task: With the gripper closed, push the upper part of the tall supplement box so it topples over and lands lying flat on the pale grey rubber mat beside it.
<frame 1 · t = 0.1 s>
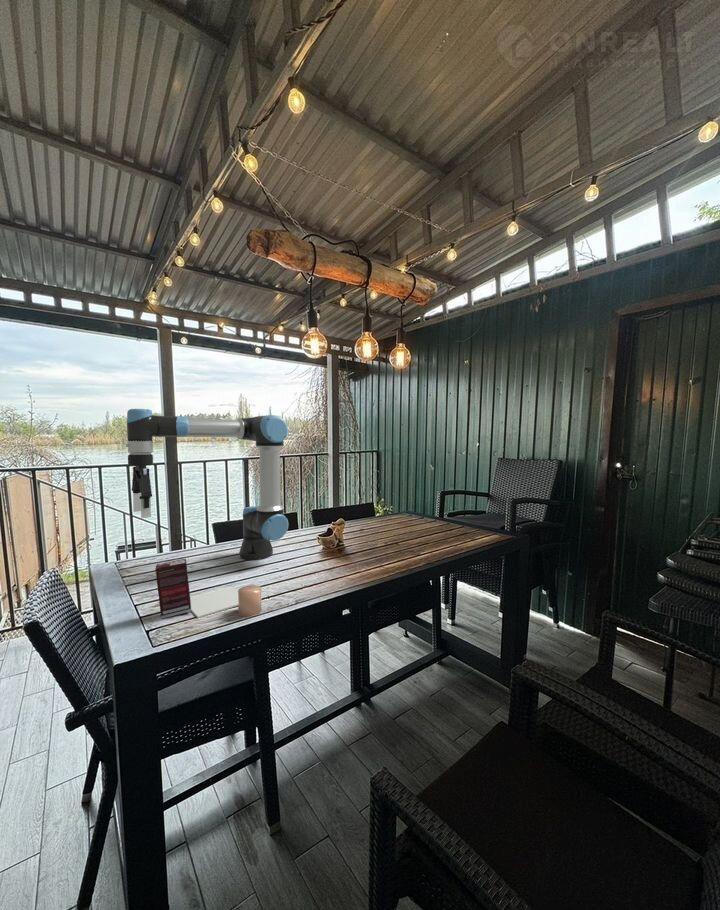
hand: (141, 514, 129), 28 cm above the table, fingers open, 13 cm apart
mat: (216, 601, 124), on the table
peach pillar candle: (250, 611, 117), on the table
supplement box: (176, 612, 115), on the table, touching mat
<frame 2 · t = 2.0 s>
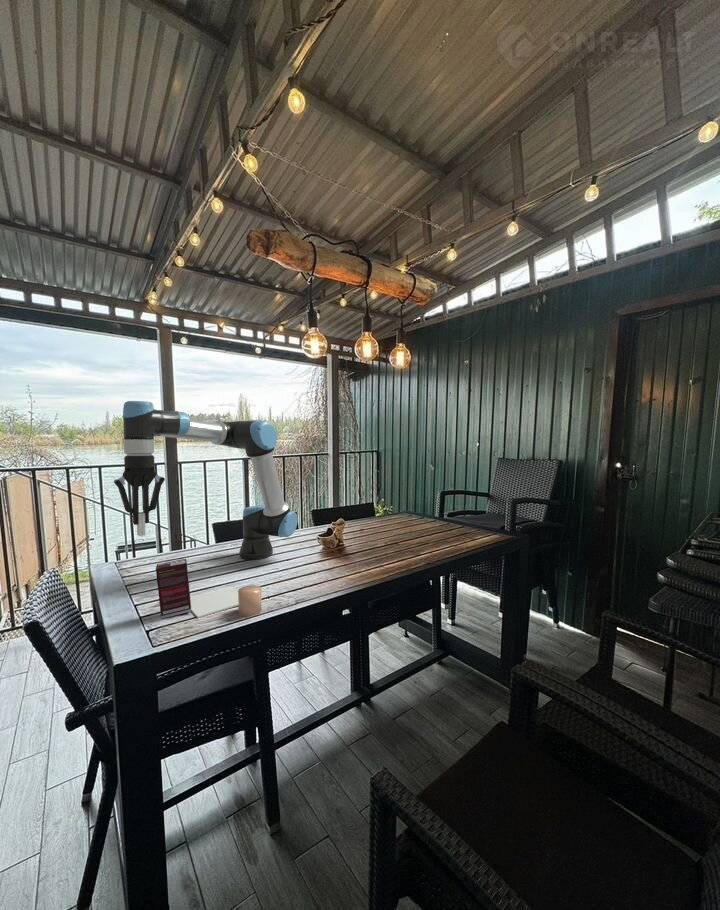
hand: (141, 534, 108), 26 cm above the table, fingers closed
nothing on the table moved.
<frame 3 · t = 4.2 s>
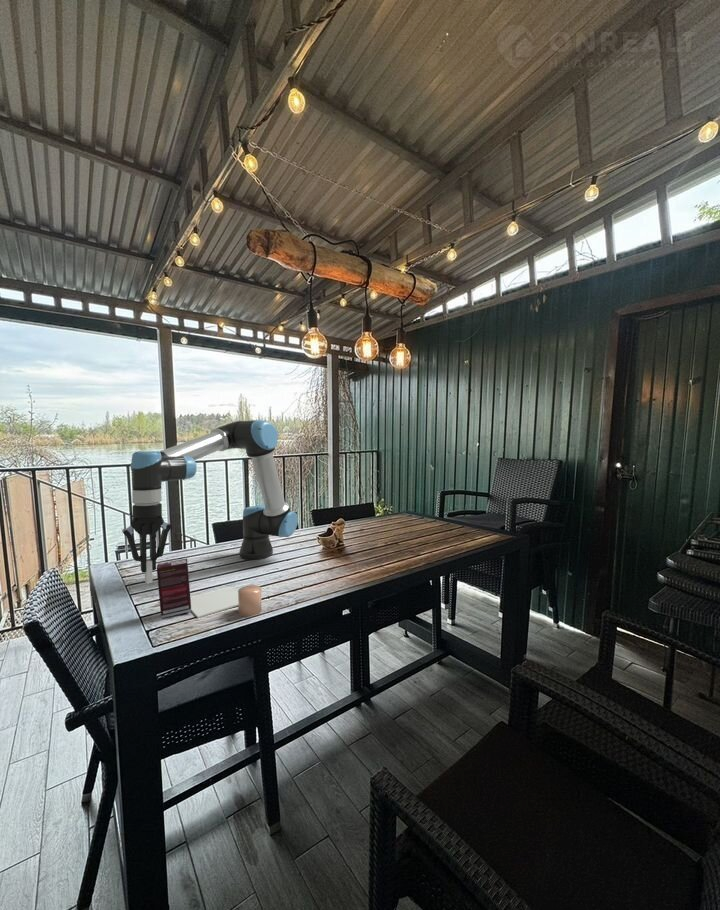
hand: (148, 581, 110), 12 cm above the table, fingers closed
supplement box: (176, 612, 115), on the table, touching gripper, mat
everything else where it was.
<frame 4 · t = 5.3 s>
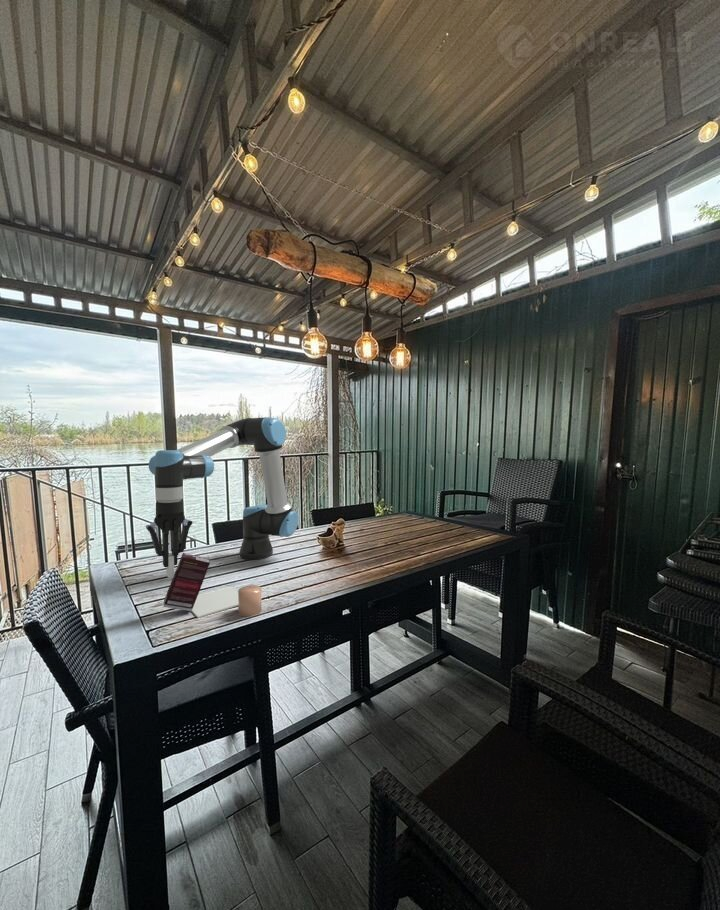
hand: (170, 576, 114), 12 cm above the table, fingers closed
supplement box: (176, 606, 115), point 2 cm above the table, touching gripper, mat
everything else where it was.
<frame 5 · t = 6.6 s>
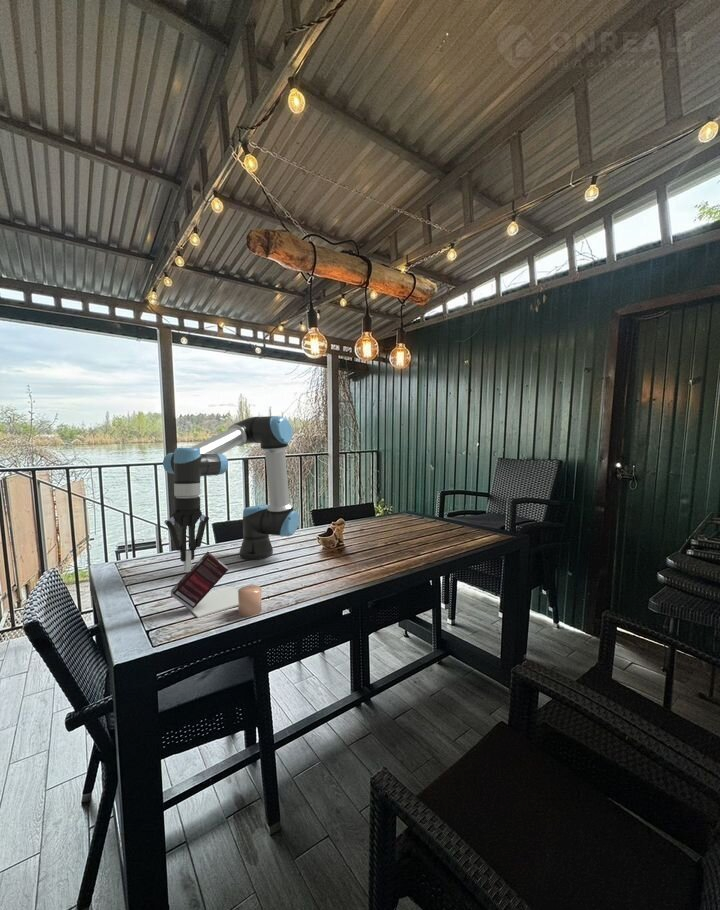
hand: (187, 570, 116), 13 cm above the table, fingers closed
supplement box: (180, 601, 116), point 4 cm above the table, touching gripper, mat
everything else where it was.
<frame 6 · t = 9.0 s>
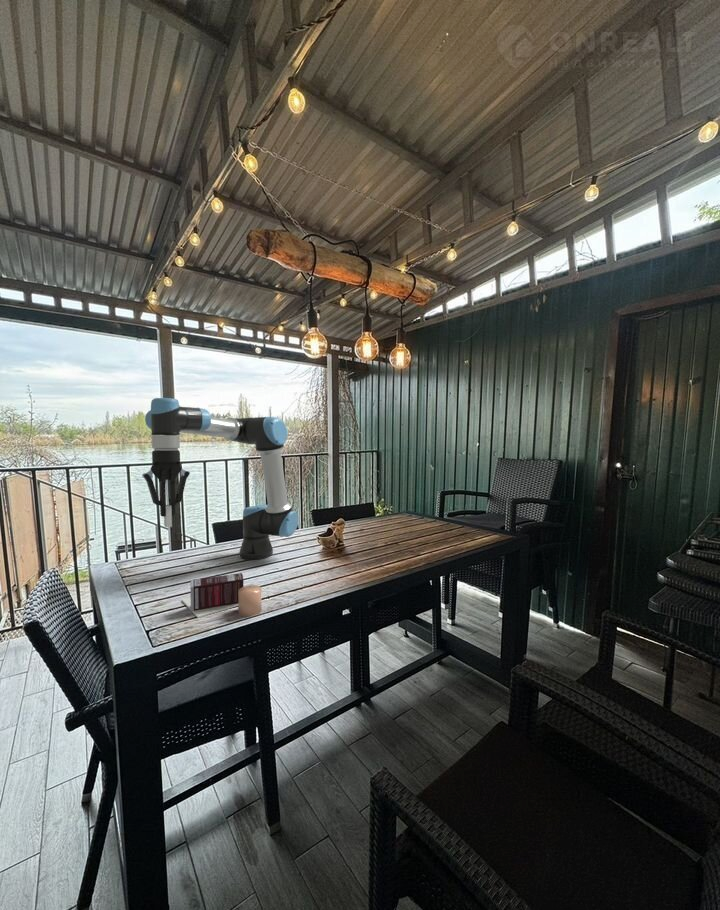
hand: (168, 526, 113), 28 cm above the table, fingers closed
supplement box: (189, 595, 116), point 5 cm above the table, touching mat
everything else where it was.
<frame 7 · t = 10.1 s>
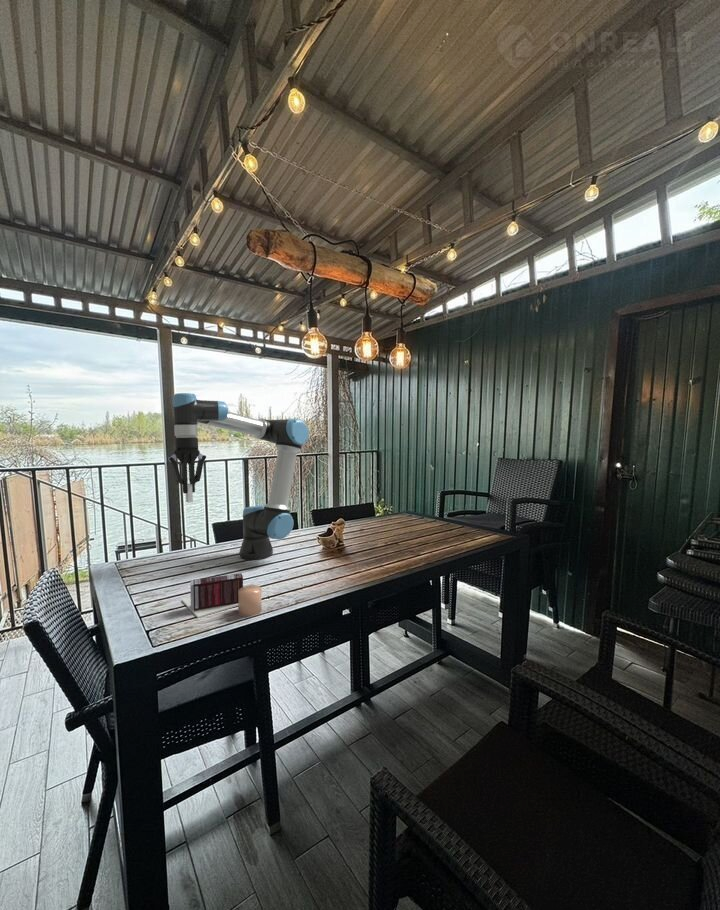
hand: (189, 501, 134), 32 cm above the table, fingers closed
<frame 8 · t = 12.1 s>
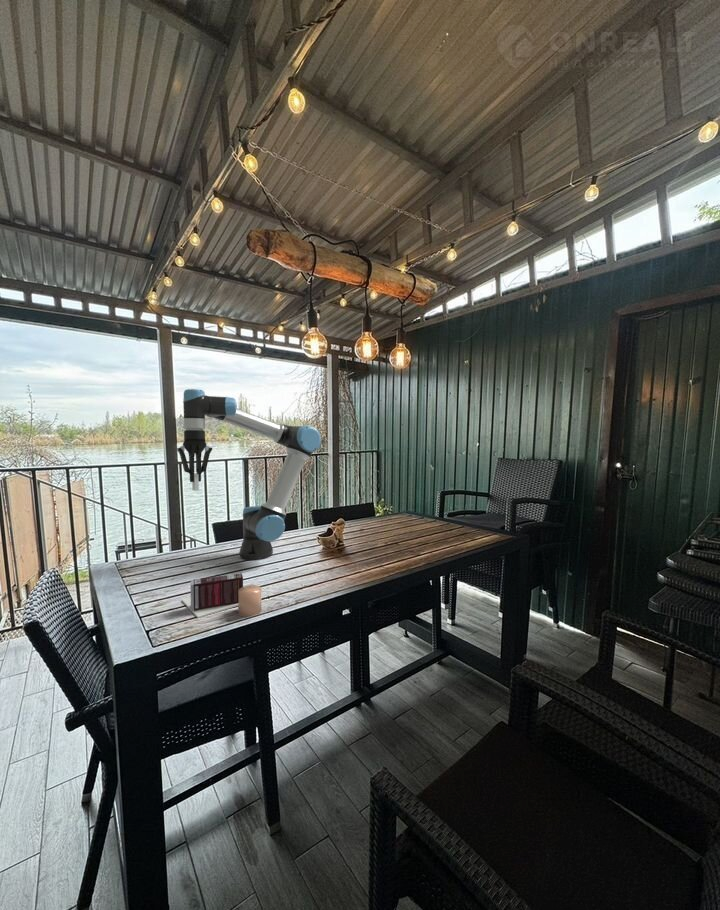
hand: (195, 490, 144), 34 cm above the table, fingers closed
nothing on the table moved.
at the end: supplement box tilted 91°; supplement box inside the target area (6.1 cm from its centre), point 4.9 cm above the table; peach pillar candle touching table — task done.
